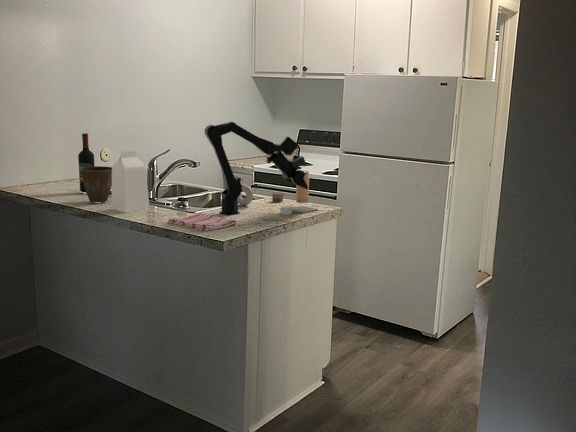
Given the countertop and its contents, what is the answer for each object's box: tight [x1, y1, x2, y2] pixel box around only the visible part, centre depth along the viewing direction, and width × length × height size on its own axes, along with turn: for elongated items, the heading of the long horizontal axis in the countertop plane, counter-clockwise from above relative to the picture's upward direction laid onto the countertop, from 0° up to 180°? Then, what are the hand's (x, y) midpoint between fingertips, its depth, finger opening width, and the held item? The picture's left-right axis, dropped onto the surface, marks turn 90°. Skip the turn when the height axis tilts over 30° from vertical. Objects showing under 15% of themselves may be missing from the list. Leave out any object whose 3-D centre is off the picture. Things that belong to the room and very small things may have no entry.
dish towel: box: [167, 212, 237, 232], centre depth 243 cm, size 17×23×4 cm
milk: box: [111, 150, 150, 213], centre depth 266 cm, size 12×12×26 cm
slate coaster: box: [292, 205, 319, 214], centre depth 274 cm, size 10×10×1 cm
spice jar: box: [295, 170, 310, 204], centre depth 272 cm, size 6×6×14 cm
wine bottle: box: [77, 132, 96, 192], centre depth 304 cm, size 8×8×30 cm
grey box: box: [279, 205, 293, 216], centre depth 267 cm, size 6×4×3 cm, turn 165°
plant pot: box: [81, 166, 113, 203], centre depth 282 cm, size 15×15×16 cm
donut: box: [237, 183, 254, 207], centre depth 281 cm, size 10×4×10 cm, turn 64°
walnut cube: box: [271, 192, 284, 203], centre depth 294 cm, size 4×4×4 cm
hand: (305, 187), depth 272 cm, fingers closed on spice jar, 6 cm apart
